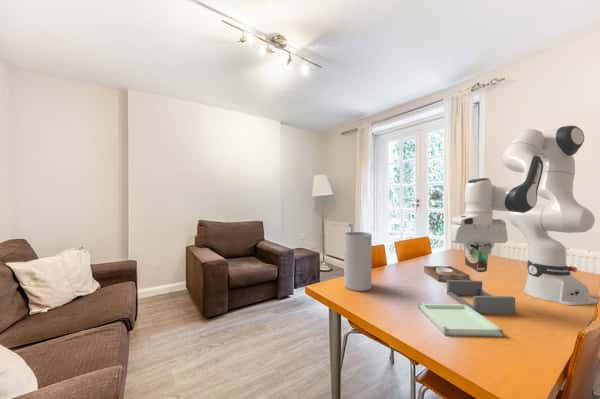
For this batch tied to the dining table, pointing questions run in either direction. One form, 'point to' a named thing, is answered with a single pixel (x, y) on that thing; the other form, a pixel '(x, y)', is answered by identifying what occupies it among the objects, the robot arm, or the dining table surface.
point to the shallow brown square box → (444, 277)
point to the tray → (459, 320)
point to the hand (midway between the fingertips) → (478, 254)
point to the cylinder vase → (358, 261)
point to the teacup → (443, 270)
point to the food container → (477, 257)
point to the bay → (480, 297)
